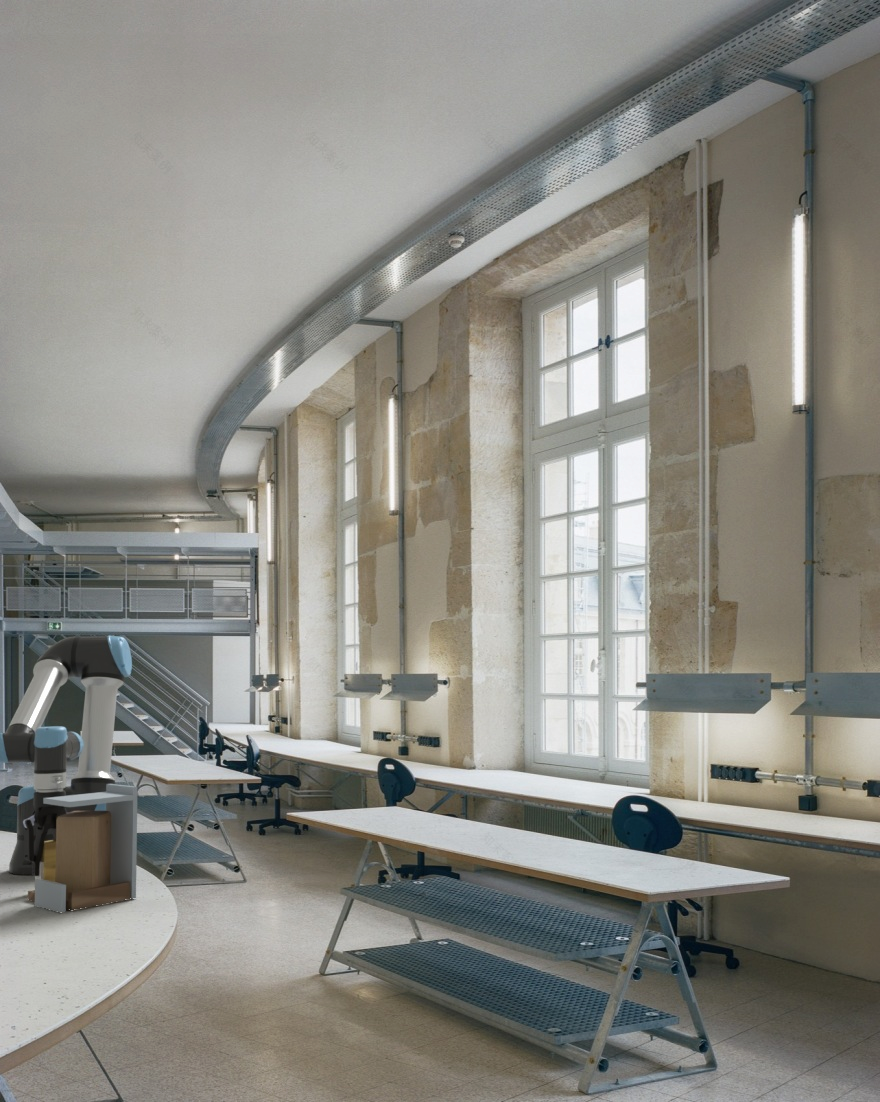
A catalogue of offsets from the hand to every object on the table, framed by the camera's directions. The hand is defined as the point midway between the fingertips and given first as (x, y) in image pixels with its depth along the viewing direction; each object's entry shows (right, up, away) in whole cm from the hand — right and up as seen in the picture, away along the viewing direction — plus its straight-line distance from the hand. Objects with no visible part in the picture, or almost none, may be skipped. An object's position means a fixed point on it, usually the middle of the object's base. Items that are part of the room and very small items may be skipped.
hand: (48, 887), depth 269 cm
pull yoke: (+8, 0, -7) cm, 11 cm away
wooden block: (+12, 0, -11) cm, 16 cm away
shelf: (+13, 0, -12) cm, 18 cm away
